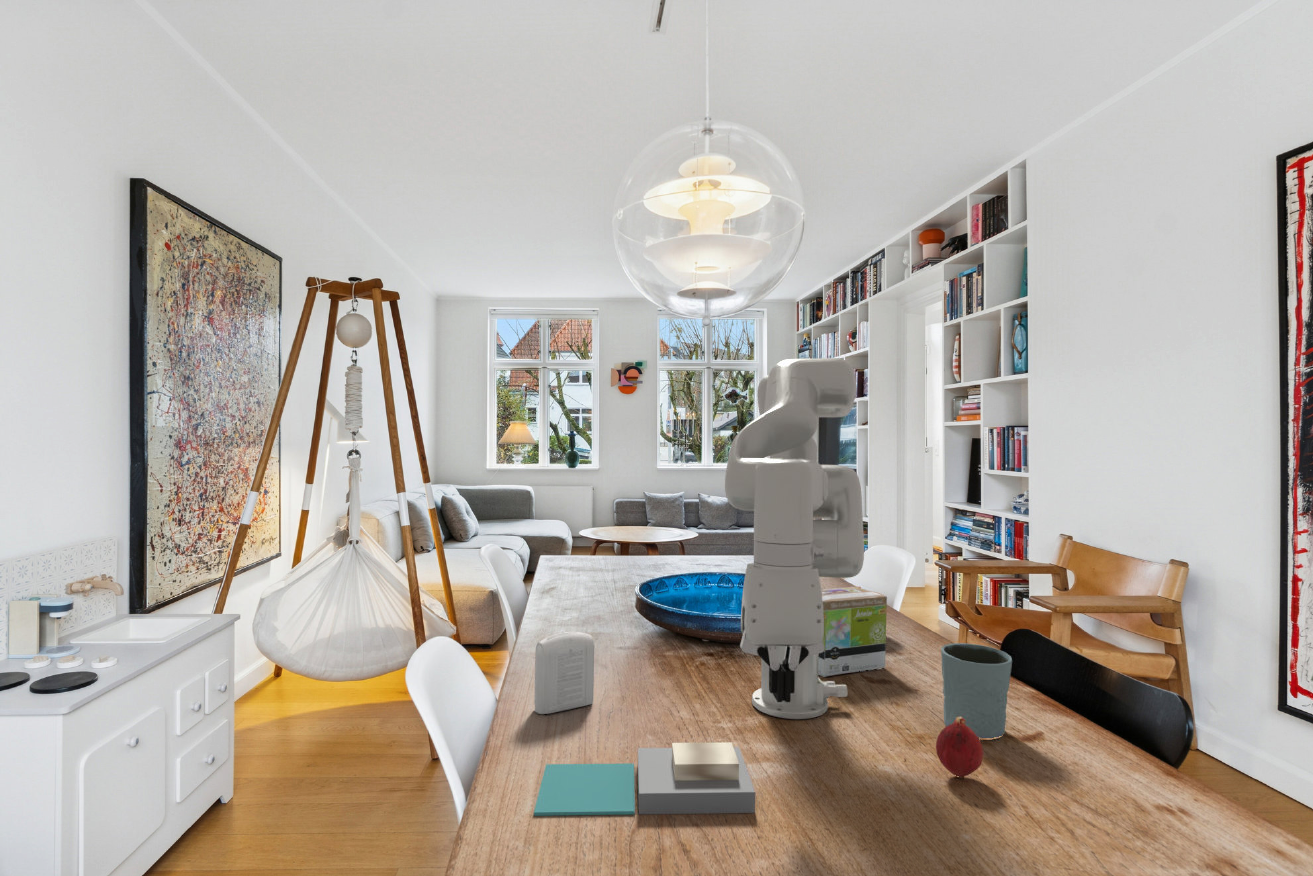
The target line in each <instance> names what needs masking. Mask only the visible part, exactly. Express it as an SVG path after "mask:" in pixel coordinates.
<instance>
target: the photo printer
mask: <svg viewBox="0 0 1313 876" xmlns="http://www.w3.org/2000/svg"><path fill="white" fill-rule="evenodd" d="M594 643H595V642H594V639H593V636H592V635H591V634H588V633H585V632H581V631H565V632H560V633H559V632H558V633H556V634H552V635H550V636H547V637H545V638H543V639H542V640H540V641H538V642H537V643H536V646H535V657H534V658H535V661H534V664H535V665H534V666H535V667H534V702H533V703H534V712H535V713H536V714H539V715H545V714H547V715H548V714H554V713H558V712H563V711H567V710H572V709H576V708H582V707H586V706H590V705H592V704H593V703H594V693H595V692H594V685H595V684H594V683H595V682H594V681H595V680H594V679H595V676H594V675H595V644H594Z"/></svg>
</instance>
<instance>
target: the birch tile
mask: <svg viewBox="0 0 1313 876" xmlns="http://www.w3.org/2000/svg"><path fill="white" fill-rule="evenodd" d="M734 747H735V746H734V745H733V742H730V741H729V742H724V741H723V742H672V743H671V748H672V762H673V770H674V777H675V780H739V762H738V759H737V756H736V753H735V750H734Z"/></svg>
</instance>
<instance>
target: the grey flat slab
mask: <svg viewBox="0 0 1313 876" xmlns="http://www.w3.org/2000/svg"><path fill="white" fill-rule="evenodd" d="M733 747H734V750H735V753H736V756H737V759H738V762H739V780H675V777H674V770H673V762H672V747H637V786H638V787H637V788H638V789H637V790H638V791H637V792H638V793H637V794H638V796H637V798H638V815H691V814H692V815H694V814H695V815H696V814H697V815H698V814H753V813H754V814H756V790H755V788H754V785H753V781H752V779H751V776H750V773H749V771H748V768H747V765H746V761H745V758H744V756H743V753H742V751H741V748H740V747H738V746H733Z"/></svg>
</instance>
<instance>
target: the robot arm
mask: <svg viewBox="0 0 1313 876" xmlns="http://www.w3.org/2000/svg"><path fill="white" fill-rule="evenodd" d="M856 395H857V378H856V373H855V371H854V368H853V367H852V365H851V364H850V363H849V362H848V361H847V360H845V359H842V358H837V357H825V358H819V357H818V358H789V359H784V360H782V361H779V362H778V363H776V364H775V365H774V366H773V367H772V368H771V370H770V371H769V373H768V374H767V375H766V376H765V377H763V378H762V379H761V380H760V381H759V383H758V386H757V405H758V413H759V416H757V417H756V418H754V419H753V420H752V421H750V422H749V423H748V424H747V425H745V426H744V427H743V428H742V429H740V431H739V432H738V433H737V434H736V435H735V436H734V439H733V440H732V443H731V445H730V447H729V448H730V449H729V453H728V457H727V464H726V468H725V469H726V470H725V476H724V477H725V478H724V491H725V496H726V500H727V501H728V503H729V504H730V505H731V506H732V507H733V508H735V509H736V510H740V511H749V512H750V511H751V512H752V511H753V562H751V563H750V562H749V563H747V565H746V569H745V574H744V580H743V581H744V582H743V588H742V596H741V597H742V598H741V614H740V630H741V634H742V636H741V637H742V638H741V641H740V643H739V647H740V650H741V651H742V652H743V653H745V654H750V655H754V656H758V657H759V658H760V659H761V666H760V667H761V668H760V670H761V672H760V673H761V681H760V682H761V684H760V686H761V687H760V688H758V689H757V690H755V691H754V692H753V693H752V695H751V703H752V705H753V707H755V709H757V710H758V711H759V712H762V713H764V714H765V715H769V716H772V717H775V718H782V719H789V720H808V719H813V718H816V717H820V716H822V715H824V714H825V713H826V712H827V710H828V706H829V705H828V703H829V702H828V699H829V697H835V698H841V697H843V698H844V697H848V686H847V685H846V684H836V682H835V680H827V681H822V680H821V678H820V677H819V674H818V669H819V653H822V652H823V651H824V645H823V641H822V640H823V636H824V614H823V602H822V592H821V589H822V587H821V578H839V579H845V578H846V579H848V578H849V579H850V578H854V577H856V576H858V575H859V574H860V573H861V571H862V569H863V565H864V560H865V545H864V544H865V541H864V538H865V537H864V518H863V514H864V513H863V497H862V486H861V481H860V477H859V475H858V473H857V472H856V471H855V469H853V468H851V467H849V466H848V465H847V466H846V465H841V464H820V463H819V462H818V445H817V442H816V441H815V439H814V438H813V437H814V435H815V434H816V433H817V430H818V424H819V423H818V422H819V420H818V418H842V417H846V416H847V415H849V413H851V411H852V408H853V406H854V402H855V399H856ZM820 577H821V578H820ZM823 713H824V714H823Z"/></svg>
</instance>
